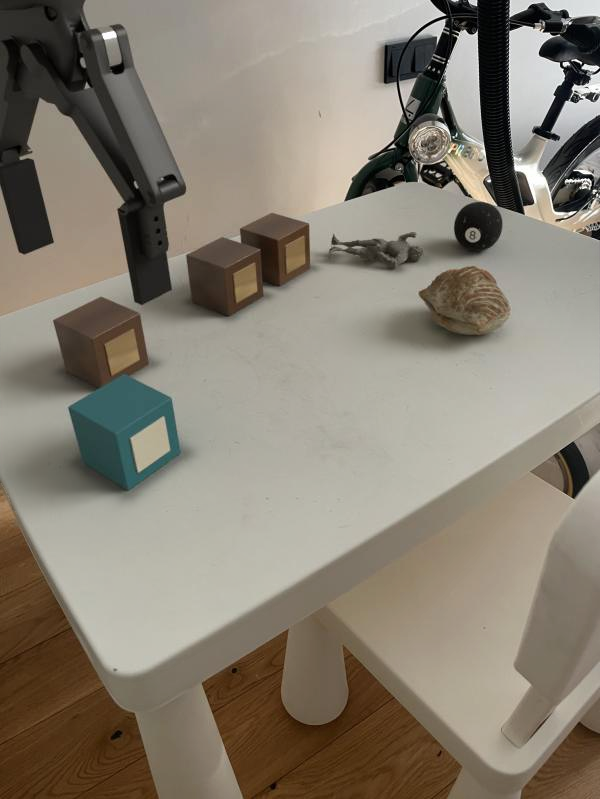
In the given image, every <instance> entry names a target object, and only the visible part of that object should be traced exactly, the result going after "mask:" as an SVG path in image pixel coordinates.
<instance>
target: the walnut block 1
mask: <svg viewBox="0 0 600 799" xmlns="http://www.w3.org/2000/svg"><path fill="white" fill-rule="evenodd" d="M52 322H53V326H54V331H55V335H56V338H57V341H58V345H59V349H60V352H61V357H62V360H63V364H64V368H65V371H66V372H67V373H69V374H71V375H73V376H75V377H77V378H79V379H80V380H82V381H84V382H86V383H87V384H90V385H91V386H94V387H96V388H97V389H99V388H101V387H103V386H104V385H106V384H108V383H109V382H111V381H113V380H115V379H116V378H118V377H120V376H121V375H123V374H126V375H128V376H131V375H133V374H135V373H136V372H138V371H139V370H141V369H143V368H145V367H146V366H148V365H149V364H150V362H149V356H148V355H149V354H148V351H147V344H146V337H145V334H144V333H145V332H144V328H143V323H142V322H143V321H142V316H141V313H140V312H138V311H136V310H134V309H131V308H129V307H127V306H124V305H122V304H120V303H118V302H115V301H113V300H111V299H108V298H106V297H103V296H99V297H97V298H95V299H93V300H91V301H89V302H87V303H85V304H83V305H81V306H79V307H77V308H75V309H72V310H71V311H69V312H67V313H64V314H62V315H60V316H58V317H56V318H54V319H53V321H52Z"/></svg>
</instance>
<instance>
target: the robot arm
mask: <svg viewBox="0 0 600 799" xmlns="http://www.w3.org/2000/svg"><path fill="white" fill-rule="evenodd" d="M86 1H87V0H0V190H1V194H2V197H3V202H4V204H5V208H6V212H7V216H8V220H9V222H10V226H11V230H12V233H13V237H14V242H15V244H16V248H17V251H18V254H19V253H20V254H22V255H24V256H25V255H27V254H30V253H32V252H35V251H37V250H40V249H43V248H45V247H47V246H50V245H52V244H55V241H54V236H53V232H52V229H51V224H50V220H49V217H48V212H47V208H46V204H45V200H44V196H43V192H42V191H43V190H42V188H41V184H40V183H41V182H40V180H39V175H38V172H37V168H36V163H35V159H32V158H29V157H27V158H23V159H21V157H24V156H28V155H31V154H33V152H34V151H33V150H31V147H30V145H28V143H29V139H30V134H31V131H32V128H33V124H34V121H35V120H34V119H35V117H36V113H37V109H38V105H39V102H40V100H42V101H44V102H46V104H47V103H48V104H52V105H54V106H55V107H56V109H57V110H58V112H59V113H60V114H61V115H63V116H66V117H69V118H70V119H71V120H72V121H73V123H74V124H75V126H76V127H77V129H78V131H79V132H80V134H81V136H82V137H83V139H84V141H85V142H86V144H87V145H88V147H89V148H90V150H91V151H92V154H93V155H94V156H95V158H96V159H97V161H98V163H99V164H100V166H101V167H102V169H103V170H104V172H105V173H106V175H107V177H108V178H109V180H110V181H111V183H112V185H113V186H114V188H115V190H116V191H117V193H118V194H119V196H120V197H121V199H122V201H123V203H122V204H121V205H120V207H118V208H117V209H116V210H117V215H118V216H117V217H118V220H119V226H120V232H121V237H122V242H123V246H124V247H123V248H124V253H125V259H126V263H127V269H128V275H129V280H130V285H131V292H132V296H133V301H134V303H136V304H138V305H140V306H144V305H146V304H147V303H150V302H151V301H154V300H156V299H157V298H159V297H161V296H163V295H165V294H167V293H169V292H171V291H172V290H173V288H172V287H173V286H172V280H171V272H170V267H169V261H168V260H169V259H168V253H167V252H168V251H169V247H170V243H169V242H170V241H169V237H168V230H167V222H166V216H165V203H168V202H170V201H172V200H174V199H178V198H180V197H182V196H185V194H186V192H187V186H186V182H185V180H184V177H183V175H182V173H181V171H180V168H179V166H178V163H177V161H176V159H175V157H174V155H173V152H172V150H171V146H170V145H169V143H168V141H167V139H166V136H165V134H164V131H163V129H162V127H161V124H160V122H159V120H158V117H157V115H156V113H155V111H154V109H153V106H152V103H151V102H150V99H149V97H148V94H147V92H146V90H145V87H144V85H143V83H142V81H141V79H140V76H139V74H138V72H137V69H136V67H135V62H134V58H133V57H134V56H133V54H132V49H131V44H130V40H129V35H128V32H127V30H126V28H125V27H124V26H123V25H122V24H120V23H114V24H110V25H106V26H99V27H95V28H91V27H90V25H89V23H88V20H87V18H86V15H85V11H84V5H85V3H86ZM86 85H88V86H89V87H88V88H86ZM135 183H136V185H135ZM136 186H137V187H136Z"/></svg>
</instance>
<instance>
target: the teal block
mask: <svg viewBox="0 0 600 799" xmlns="http://www.w3.org/2000/svg"><path fill="white" fill-rule="evenodd" d="M67 410H68V412H69V417H70V420H71V424H72V427H73V431H74V435H75V439H76V442H77V446H78V450H79V453H80V457H81V461H82V463H83V464H85V465H87V466H88V467H90V468H91V469H93V470H94V471H96V472H97V473H99V474H101V475H102V476H104V477H106V478H107V479H109V480H110V481H112V482H113V483H115V484H116V485H118V486H120V487H122V488H123V489H125V490H126V491H130V490H131V489H133V488H134V487H135V486H137V485H139V484H140V483H141V482H142V481H144V480H145V479H147V478H148V477H150V476H151V475H152V474H153V473H155V472H156V471H158V470H159V469H160V468H162V467H163V466H165V465H167V463H169V462H170V461H172V460H173V459H174V458H176V457H177V456H179V455H180V454H181V448H180V440H179V435H178V434H179V433H178V428H177V422H176V416H175V410H174V403H173V398H172V396H170V395H168V394H165V393H164V392H161V391H160V390H158V389H155V388H154V387H151V386H150V385H147V384H145V383H144V382H141V381H139V380H137V379H136V378H134V377H131V375H129V376H128V375H126V374H123V375H121V376H120V377H118V378H116V379H115V380H113V381H111V382H109V383H108V384H106V385H104V386H103V387H101V388H97V389H96V390H94V391H92V392H91V393H89V394H87V395H86V396H83V397H82V398H80V399H79V400H77V401H75V402H74V403H72V404H70V405H69V406H68V407H67Z"/></svg>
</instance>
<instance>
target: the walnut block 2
mask: <svg viewBox="0 0 600 799" xmlns="http://www.w3.org/2000/svg"><path fill="white" fill-rule="evenodd" d="M185 259H186V266H187V267H186V268H187V274H188V275H187V276H188V281H189V289H190V297H191V302H192V303H194V304H197V305H199V306H202V307H204V308H207V309H209V310H212V311H215V312H217V313H219V314H222V315H224V316H227V317H230V316H232V315H234V314H236V313H237V312H239V311H241V310H243V309H244V308H246V307H247V306H249V305H251V304H253V303H254V302H256V301H258V300H259V299H261V298H262V297H264V284H263V281H264V280H262V266H261V251H260V249H258V248H255V247H252V246H249V245H246V244H242V243H241V242H239V241H236V240H233V239H229V238H227V237H224V236H221V237H219V238H217V239H215V240H213V241H211V242H209V243H207V244H205V245H203V246H201V247H198V248H197V249H195V250H192V251H191V252H189V253H187V254H185Z"/></svg>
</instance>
